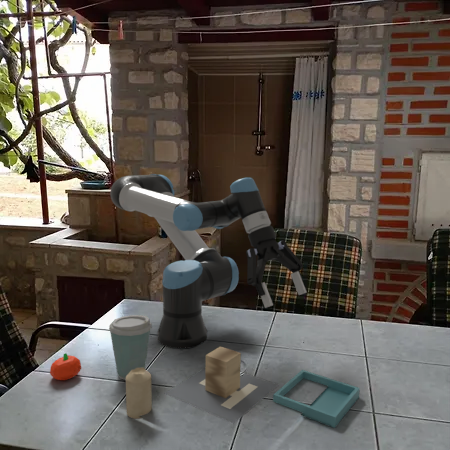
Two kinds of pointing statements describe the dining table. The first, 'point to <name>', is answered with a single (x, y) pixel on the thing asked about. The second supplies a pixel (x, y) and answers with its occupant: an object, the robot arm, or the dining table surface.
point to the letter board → (219, 406)
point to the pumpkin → (65, 367)
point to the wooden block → (222, 371)
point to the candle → (138, 393)
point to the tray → (321, 399)
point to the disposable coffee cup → (130, 342)
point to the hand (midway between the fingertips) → (286, 300)
